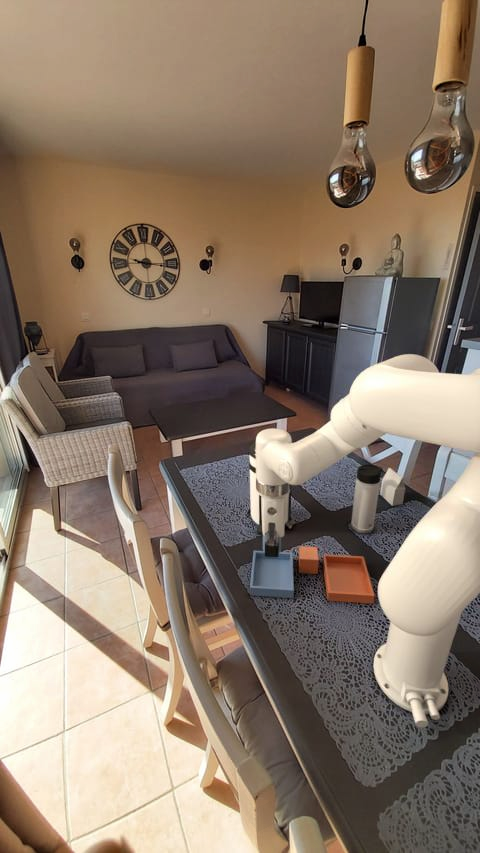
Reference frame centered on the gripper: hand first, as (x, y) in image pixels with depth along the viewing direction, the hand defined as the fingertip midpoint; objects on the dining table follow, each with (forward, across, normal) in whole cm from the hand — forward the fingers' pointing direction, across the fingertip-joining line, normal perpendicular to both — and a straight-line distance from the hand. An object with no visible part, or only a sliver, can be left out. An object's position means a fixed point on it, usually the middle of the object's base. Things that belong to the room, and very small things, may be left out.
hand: (271, 547), depth 87 cm
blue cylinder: (0, 0, 0) cm, 0 cm away
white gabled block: (+9, +36, -38) cm, 53 cm away
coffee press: (+9, +23, +2) cm, 25 cm away
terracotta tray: (+9, 0, -18) cm, 20 cm away
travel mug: (+9, +21, -26) cm, 35 cm away
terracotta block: (+9, +4, -9) cm, 13 cm away
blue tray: (+9, 0, 0) cm, 9 cm away
